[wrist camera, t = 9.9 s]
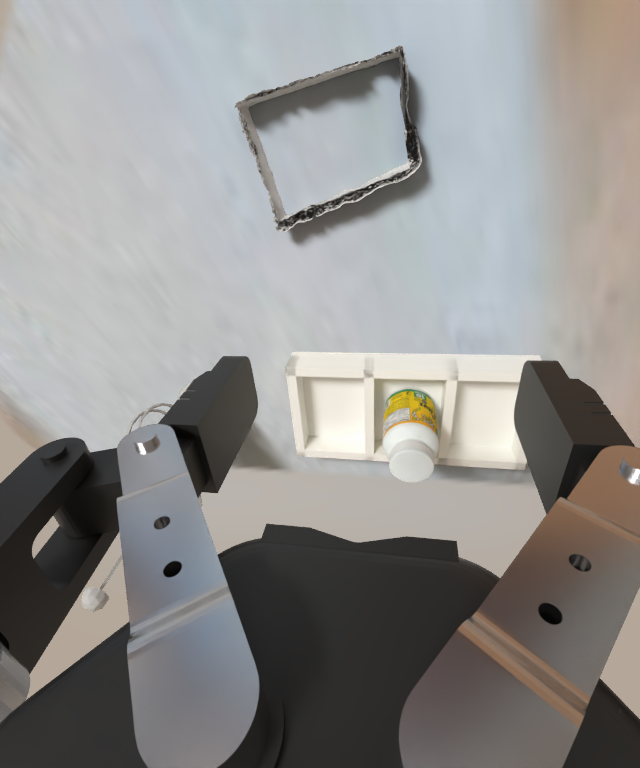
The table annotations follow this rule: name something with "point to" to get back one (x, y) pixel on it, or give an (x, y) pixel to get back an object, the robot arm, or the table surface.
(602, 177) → the table surface
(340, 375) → the rack
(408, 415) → the supplement bottle
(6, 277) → the table surface
